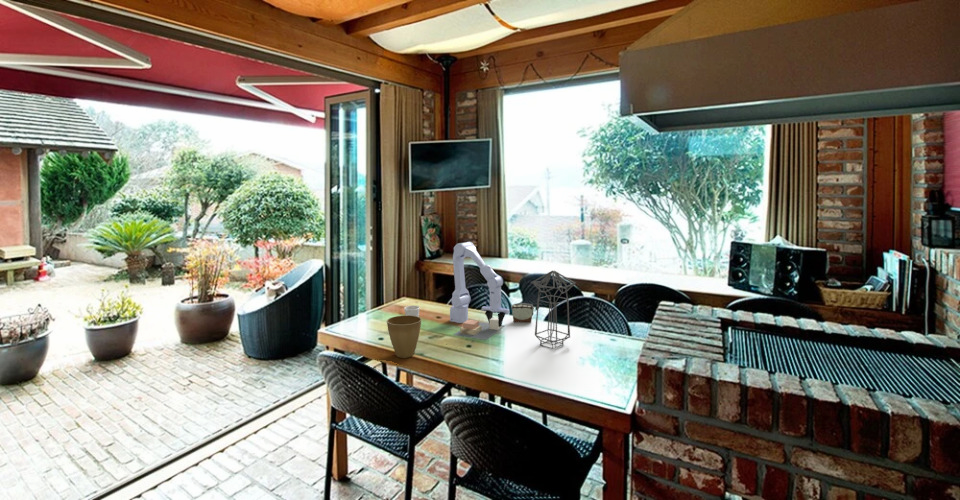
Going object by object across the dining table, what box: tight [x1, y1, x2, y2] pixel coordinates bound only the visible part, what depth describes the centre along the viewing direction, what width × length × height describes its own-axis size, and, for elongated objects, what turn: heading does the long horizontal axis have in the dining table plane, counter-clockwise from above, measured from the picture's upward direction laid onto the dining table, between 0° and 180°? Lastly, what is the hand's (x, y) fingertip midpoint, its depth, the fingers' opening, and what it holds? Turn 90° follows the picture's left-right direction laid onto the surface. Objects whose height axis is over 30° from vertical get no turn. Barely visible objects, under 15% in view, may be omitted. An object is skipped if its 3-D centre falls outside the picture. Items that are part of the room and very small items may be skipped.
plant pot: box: [386, 315, 422, 359], centre depth 193 cm, size 15×15×16 cm
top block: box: [490, 316, 501, 331], centre depth 227 cm, size 5×5×5 cm
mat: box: [452, 321, 505, 341], centre depth 225 cm, size 18×24×1 cm
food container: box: [510, 302, 535, 324], centre depth 239 cm, size 12×6×10 cm, turn 84°
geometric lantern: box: [530, 270, 576, 350], centre depth 202 cm, size 16×16×35 cm
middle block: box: [462, 319, 480, 329], centre depth 222 cm, size 6×6×2 cm
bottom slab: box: [459, 325, 482, 335], centre depth 222 cm, size 8×8×2 cm
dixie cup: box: [403, 305, 421, 317], centre depth 235 cm, size 8×8×10 cm
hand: (495, 325), depth 227 cm, fingers closed on top block, 5 cm apart
